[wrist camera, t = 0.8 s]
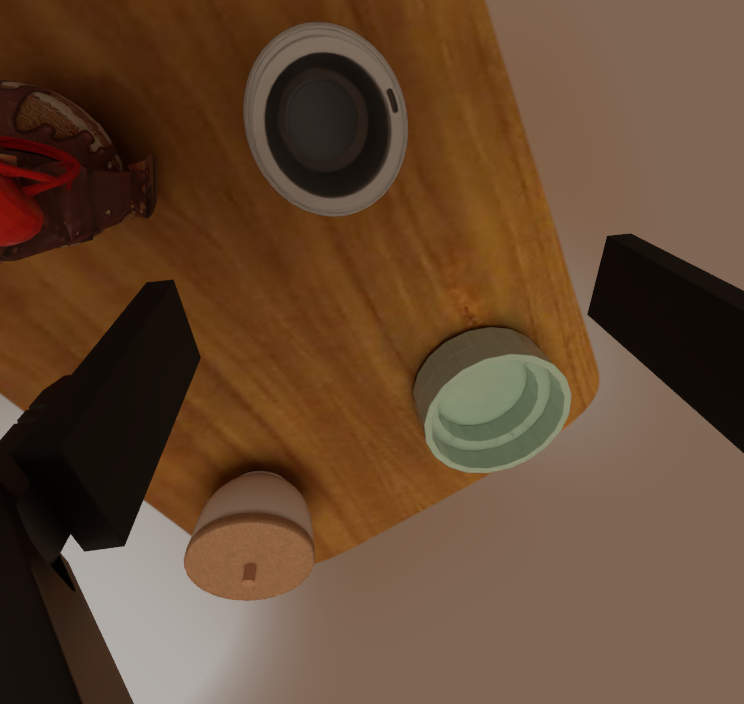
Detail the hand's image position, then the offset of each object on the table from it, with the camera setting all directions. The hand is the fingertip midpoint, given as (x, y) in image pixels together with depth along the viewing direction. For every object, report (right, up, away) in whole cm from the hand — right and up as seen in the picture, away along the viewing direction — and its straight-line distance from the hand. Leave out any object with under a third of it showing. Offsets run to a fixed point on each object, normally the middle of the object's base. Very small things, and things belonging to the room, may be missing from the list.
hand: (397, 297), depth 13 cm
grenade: (-19, +10, +13) cm, 25 cm away
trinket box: (-12, -16, +29) cm, 35 cm away
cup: (-4, +13, +14) cm, 19 cm away
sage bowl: (+9, -5, +26) cm, 27 cm away
